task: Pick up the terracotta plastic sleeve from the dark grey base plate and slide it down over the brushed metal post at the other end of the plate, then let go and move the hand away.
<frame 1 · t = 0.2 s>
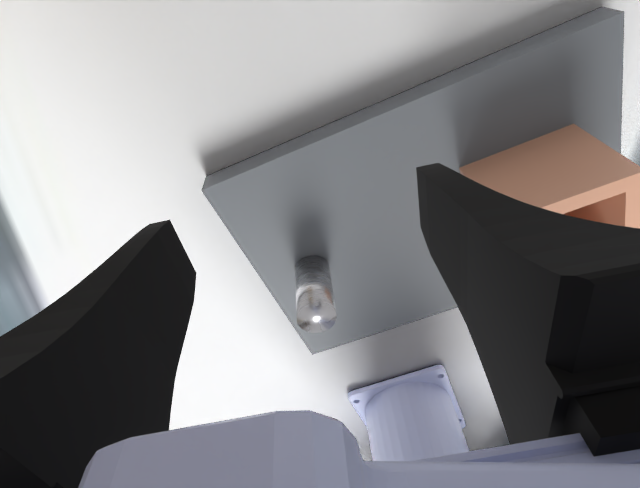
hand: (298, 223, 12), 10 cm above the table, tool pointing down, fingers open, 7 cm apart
sleeve: (521, 192, 22), point 1 cm above the table, touching pin plate
pin plate: (422, 211, 24), on the table
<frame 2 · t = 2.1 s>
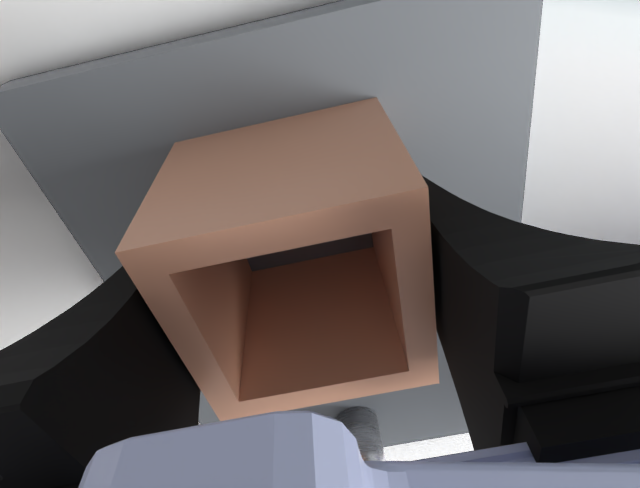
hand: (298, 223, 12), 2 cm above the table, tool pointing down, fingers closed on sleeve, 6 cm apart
sleeve: (297, 207, 13), point 1 cm above the table, touching gripper, pin plate
pin plate: (325, 291, 17), on the table
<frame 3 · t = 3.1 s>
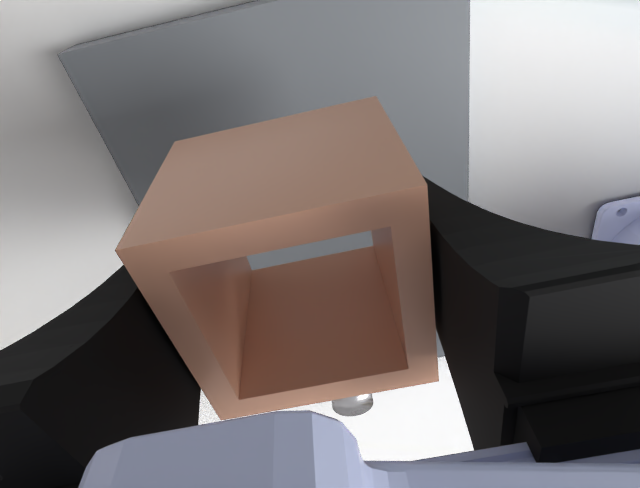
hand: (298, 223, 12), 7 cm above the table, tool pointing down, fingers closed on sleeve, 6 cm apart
sleeve: (297, 206, 13), point 6 cm above the table, touching gripper
pin plate: (316, 226, 21), on the table
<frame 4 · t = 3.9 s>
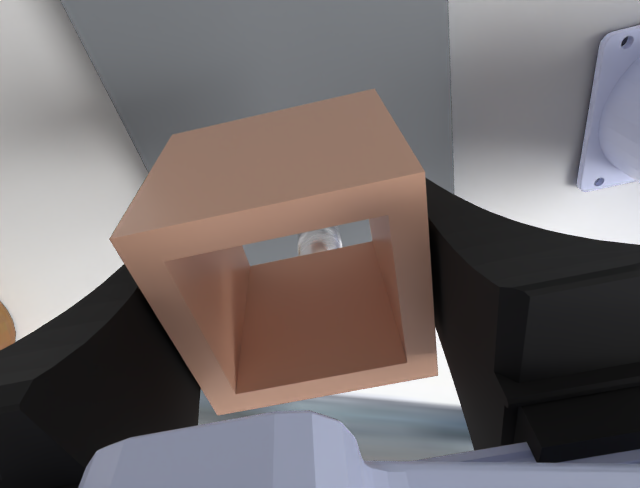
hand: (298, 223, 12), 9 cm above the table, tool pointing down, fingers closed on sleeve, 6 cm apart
sleeve: (296, 200, 13), point 8 cm above the table, touching gripper
pin plate: (278, 63, 18), on the table
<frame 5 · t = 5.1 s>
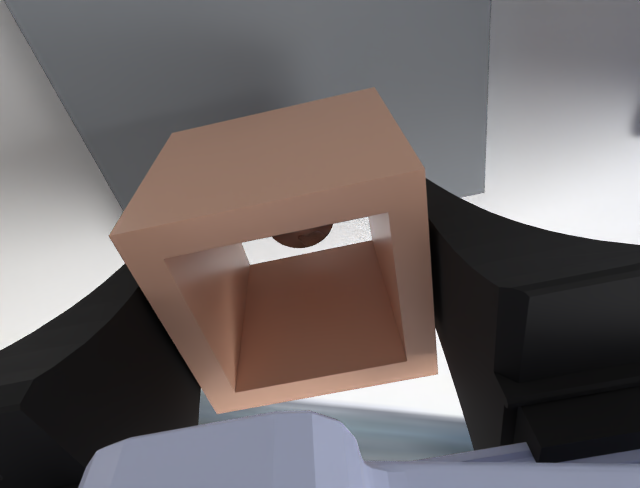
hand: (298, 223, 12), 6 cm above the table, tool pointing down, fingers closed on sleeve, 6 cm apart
sleeve: (295, 199, 13), point 5 cm above the table, touching gripper
when the fingers open (4 cm above the table, at t = 6.1 s): sleeve drops 1 cm, resting on pin plate.
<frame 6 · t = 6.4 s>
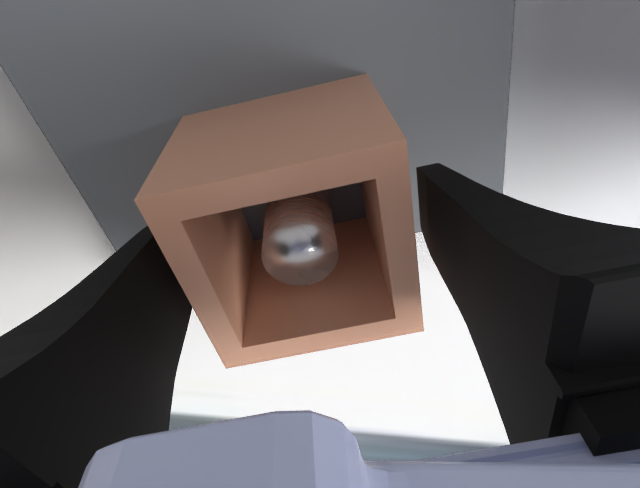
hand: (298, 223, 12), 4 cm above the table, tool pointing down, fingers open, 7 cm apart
sleeve: (295, 178, 14), point 1 cm above the table, touching pin plate
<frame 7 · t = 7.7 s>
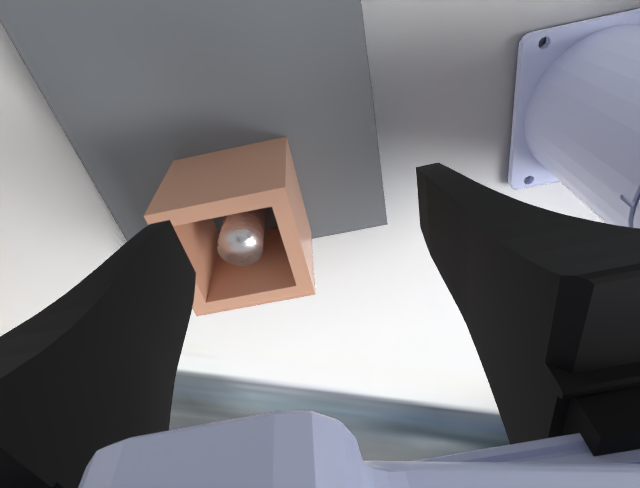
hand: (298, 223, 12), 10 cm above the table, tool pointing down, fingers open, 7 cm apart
sleeve: (246, 198, 22), point 1 cm above the table, touching pin plate
pin plate: (205, 53, 19), on the table
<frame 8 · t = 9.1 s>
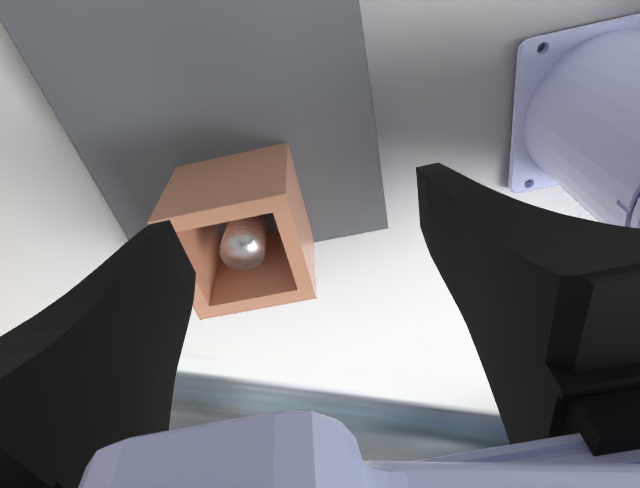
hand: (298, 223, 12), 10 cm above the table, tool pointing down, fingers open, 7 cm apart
sleeve: (249, 203, 22), point 1 cm above the table, touching pin plate
pin plate: (207, 61, 19), on the table
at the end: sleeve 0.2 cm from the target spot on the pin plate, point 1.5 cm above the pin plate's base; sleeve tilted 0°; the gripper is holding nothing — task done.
